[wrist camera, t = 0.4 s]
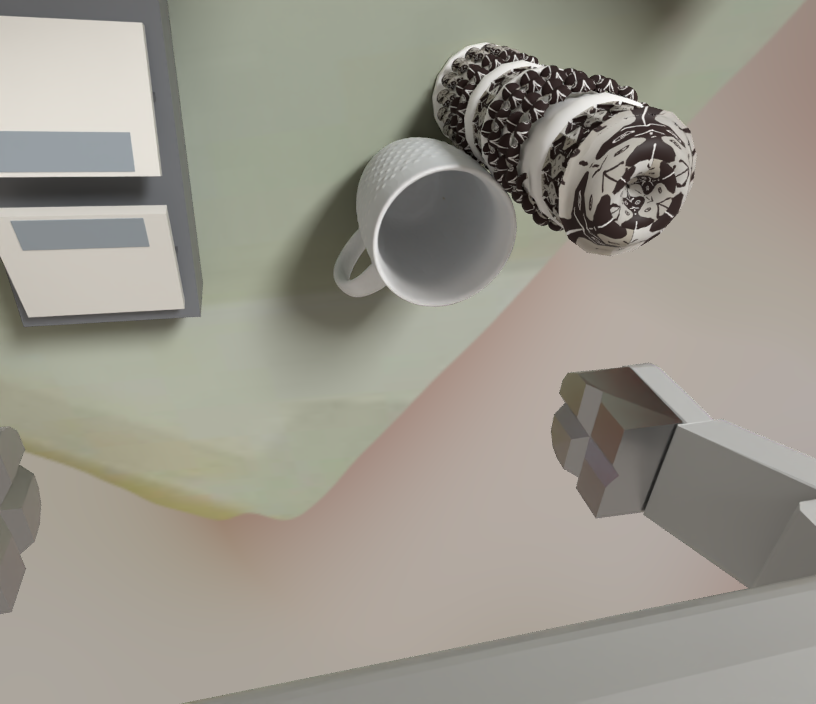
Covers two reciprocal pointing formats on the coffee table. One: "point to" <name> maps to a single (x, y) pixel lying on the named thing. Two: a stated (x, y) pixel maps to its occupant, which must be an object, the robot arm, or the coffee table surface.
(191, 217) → the switch console
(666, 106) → the coffee table surface
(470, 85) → the black and white cylinder
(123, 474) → the coffee table surface
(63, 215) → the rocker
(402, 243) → the mug
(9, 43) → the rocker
